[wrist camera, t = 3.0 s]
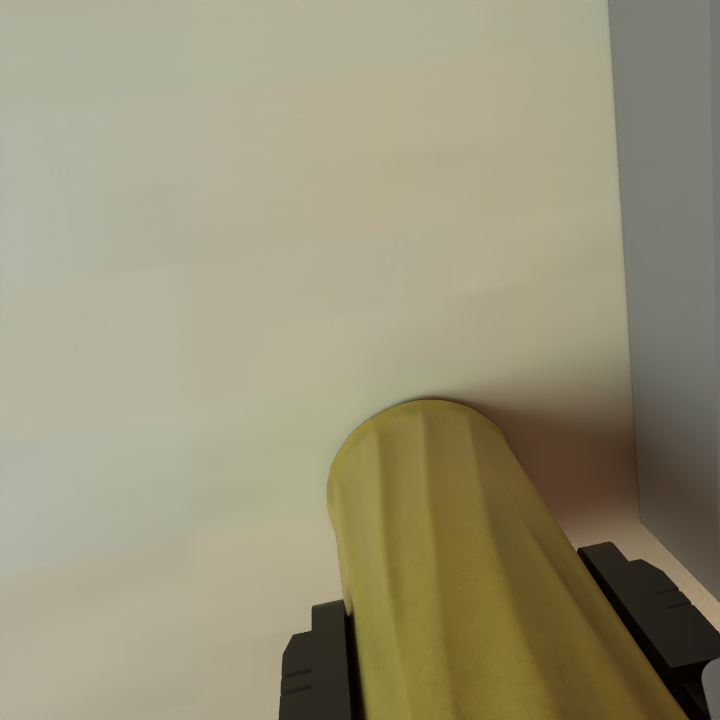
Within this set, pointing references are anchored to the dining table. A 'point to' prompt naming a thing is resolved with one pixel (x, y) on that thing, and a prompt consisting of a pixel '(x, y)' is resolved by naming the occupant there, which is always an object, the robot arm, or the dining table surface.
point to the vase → (471, 583)
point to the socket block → (673, 264)
